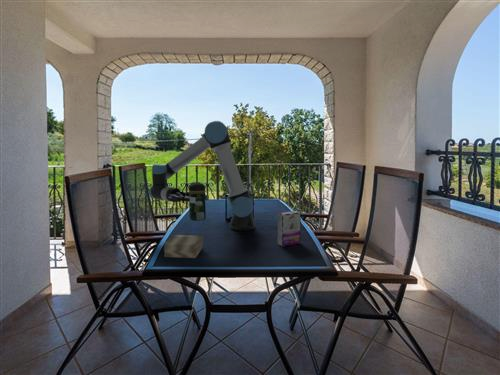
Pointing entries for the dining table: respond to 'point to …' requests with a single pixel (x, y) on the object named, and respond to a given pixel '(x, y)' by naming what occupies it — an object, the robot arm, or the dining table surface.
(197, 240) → the birch block
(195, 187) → the coffee jar
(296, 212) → the candy bar box
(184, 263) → the dining table surface
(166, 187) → the robot arm
